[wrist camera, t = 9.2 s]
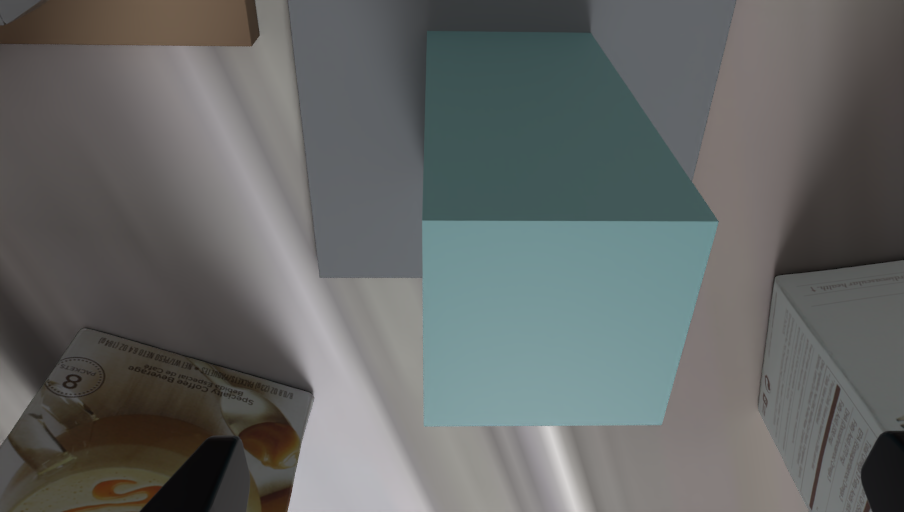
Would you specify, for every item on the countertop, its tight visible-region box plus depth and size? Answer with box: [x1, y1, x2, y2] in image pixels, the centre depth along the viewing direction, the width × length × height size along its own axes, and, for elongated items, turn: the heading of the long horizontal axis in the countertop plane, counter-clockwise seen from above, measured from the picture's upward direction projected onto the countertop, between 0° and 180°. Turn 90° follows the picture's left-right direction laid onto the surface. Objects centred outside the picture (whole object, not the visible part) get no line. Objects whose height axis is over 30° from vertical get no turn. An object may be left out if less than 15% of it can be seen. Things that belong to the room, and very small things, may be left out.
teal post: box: [422, 31, 719, 426], centre depth 16 cm, size 4×4×10 cm
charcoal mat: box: [288, 0, 736, 278], centre depth 20 cm, size 12×12×1 cm
